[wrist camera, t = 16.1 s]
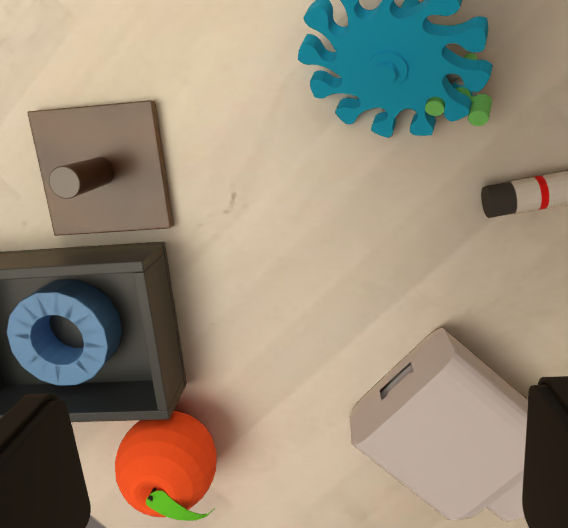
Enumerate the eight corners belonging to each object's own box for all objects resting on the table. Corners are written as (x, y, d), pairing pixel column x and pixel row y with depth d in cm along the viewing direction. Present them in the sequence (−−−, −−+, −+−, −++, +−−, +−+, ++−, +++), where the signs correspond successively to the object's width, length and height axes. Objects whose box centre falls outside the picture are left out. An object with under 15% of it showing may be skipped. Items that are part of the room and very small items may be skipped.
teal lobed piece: (265, 81, 30) (355, -69, 21) (299, 18, 32) (390, -139, 24) (419, 178, 32) (555, 79, 24) (438, 112, 35) (567, 1, 26)
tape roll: (18, 282, 36) (-4, 295, 34) (112, 276, 35) (96, 290, 33) (40, 368, 38) (20, 387, 36) (129, 365, 37) (115, 384, 35)
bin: (-35, 253, 36) (-83, 274, 32) (164, 241, 35) (142, 260, 31) (3, 390, 40) (-36, 425, 35) (186, 384, 38) (169, 419, 34)
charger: (493, 524, 40) (348, 409, 38) (590, 451, 37) (440, 322, 35) (515, 578, 35) (351, 451, 33) (626, 499, 33) (456, 355, 31)
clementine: (254, 436, 39) (239, 507, 32) (201, 492, 41) (176, 569, 34) (169, 374, 38) (135, 434, 31) (118, 434, 40) (76, 502, 33)
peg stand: (33, 111, 33) (-23, 113, 28) (155, 100, 32) (121, 100, 27) (60, 232, 35) (13, 256, 30) (174, 225, 35) (146, 248, 29)
